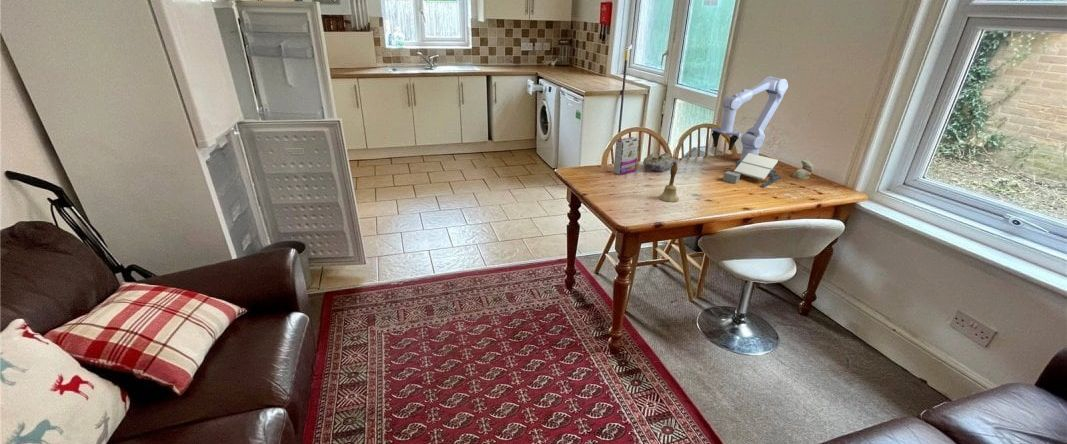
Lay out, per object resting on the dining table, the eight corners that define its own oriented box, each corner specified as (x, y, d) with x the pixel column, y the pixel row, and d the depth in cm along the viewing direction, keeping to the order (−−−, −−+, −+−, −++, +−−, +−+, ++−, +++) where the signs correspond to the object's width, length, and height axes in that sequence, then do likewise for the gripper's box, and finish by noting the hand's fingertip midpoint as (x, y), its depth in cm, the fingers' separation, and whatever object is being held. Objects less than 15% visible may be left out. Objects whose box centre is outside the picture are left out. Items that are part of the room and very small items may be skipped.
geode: (638, 179, 229) (667, 181, 220) (634, 164, 224) (664, 165, 215) (651, 160, 239) (679, 161, 230) (647, 144, 234) (676, 145, 225)
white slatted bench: (743, 169, 232) (746, 156, 229) (780, 178, 220) (784, 165, 218) (725, 177, 220) (728, 164, 217) (763, 187, 208) (767, 174, 205)
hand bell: (663, 193, 199) (669, 158, 192) (682, 198, 194) (688, 162, 187) (655, 198, 193) (660, 162, 186) (674, 204, 188) (680, 167, 181)
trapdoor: (748, 154, 225) (748, 152, 224) (777, 161, 216) (778, 159, 215) (734, 172, 220) (734, 170, 219) (763, 180, 211) (763, 178, 210)
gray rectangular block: (737, 176, 210) (724, 172, 214) (735, 184, 212) (722, 180, 216) (740, 174, 213) (728, 171, 217) (738, 182, 215) (726, 178, 218)
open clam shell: (809, 180, 219) (815, 160, 214) (791, 177, 223) (797, 157, 218) (810, 177, 223) (816, 157, 219) (793, 174, 227) (798, 154, 222)
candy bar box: (628, 168, 228) (632, 136, 221) (635, 171, 224) (640, 138, 217) (612, 172, 222) (615, 139, 215) (619, 175, 218) (623, 142, 211)
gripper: (710, 120, 228) (705, 146, 233) (738, 125, 218) (732, 153, 224) (716, 118, 232) (711, 144, 238) (745, 123, 223) (739, 150, 228)
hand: (722, 148), depth 231 cm, fingers open, 7 cm apart
